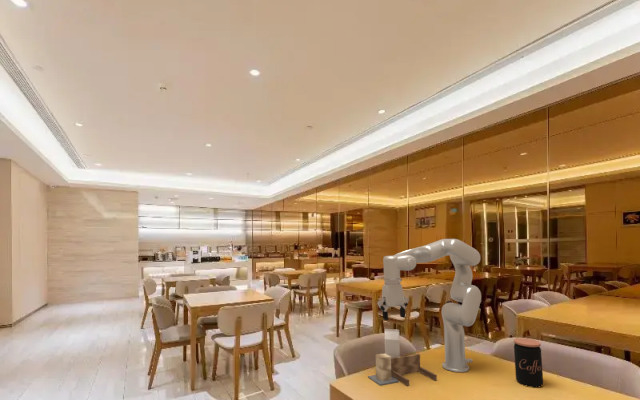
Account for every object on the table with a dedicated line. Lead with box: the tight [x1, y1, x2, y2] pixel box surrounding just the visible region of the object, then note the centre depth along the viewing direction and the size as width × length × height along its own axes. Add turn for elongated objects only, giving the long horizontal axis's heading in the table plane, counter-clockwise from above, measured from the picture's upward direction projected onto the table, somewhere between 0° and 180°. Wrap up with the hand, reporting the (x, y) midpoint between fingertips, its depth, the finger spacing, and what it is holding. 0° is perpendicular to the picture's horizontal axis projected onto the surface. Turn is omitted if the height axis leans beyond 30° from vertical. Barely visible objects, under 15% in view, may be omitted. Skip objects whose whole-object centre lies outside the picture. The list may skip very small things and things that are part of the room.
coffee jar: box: [513, 337, 544, 388], centre depth 157 cm, size 11×11×18 cm
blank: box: [375, 352, 391, 381], centre depth 160 cm, size 5×5×10 cm
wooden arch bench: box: [391, 353, 438, 387], centre depth 161 cm, size 16×13×8 cm
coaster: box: [367, 374, 400, 386], centre depth 159 cm, size 10×10×1 cm
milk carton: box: [384, 328, 401, 358], centre depth 174 cm, size 7×7×19 cm
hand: (394, 318), depth 165 cm, fingers open, 9 cm apart
